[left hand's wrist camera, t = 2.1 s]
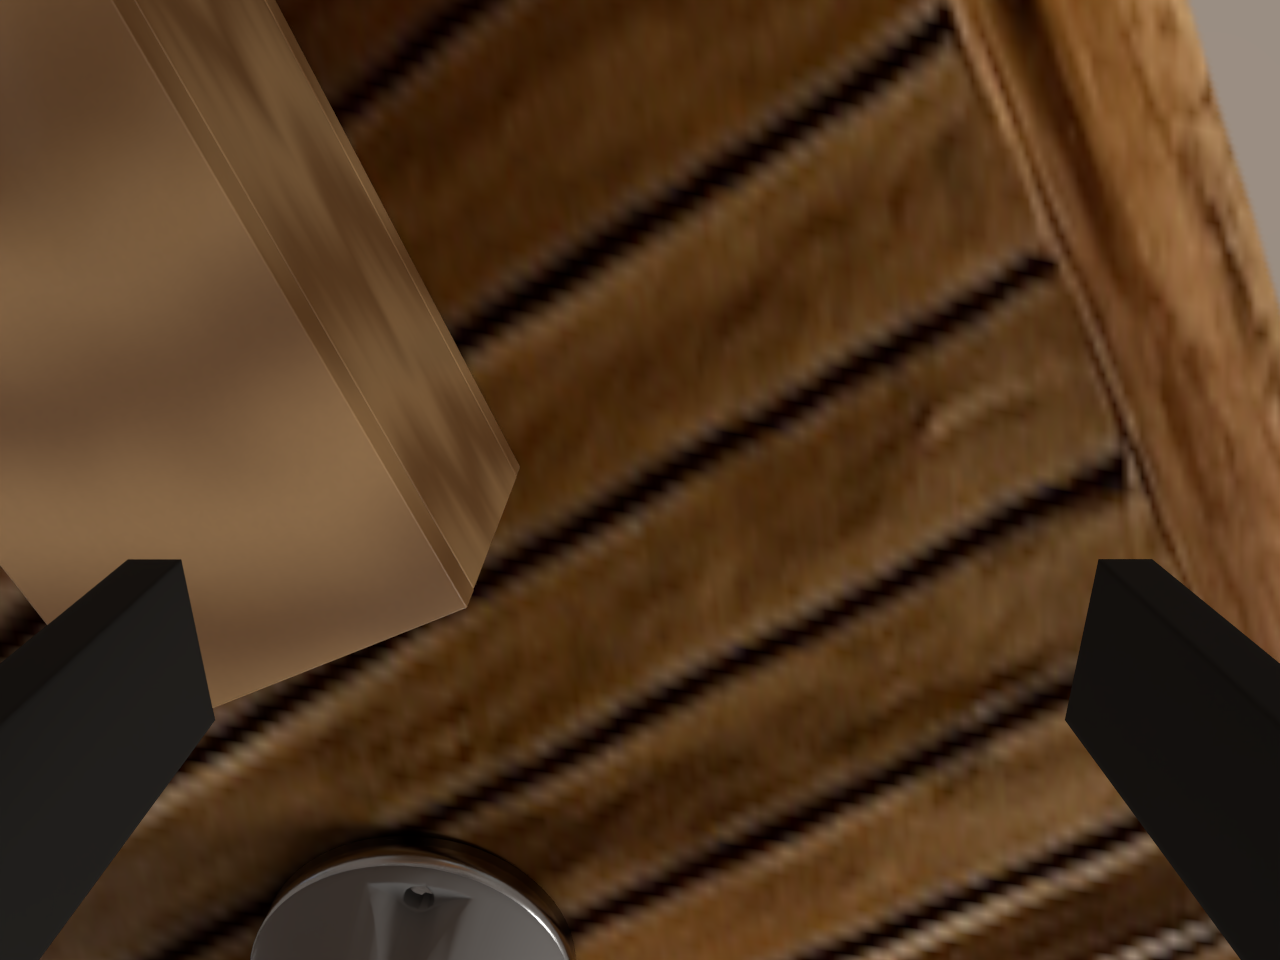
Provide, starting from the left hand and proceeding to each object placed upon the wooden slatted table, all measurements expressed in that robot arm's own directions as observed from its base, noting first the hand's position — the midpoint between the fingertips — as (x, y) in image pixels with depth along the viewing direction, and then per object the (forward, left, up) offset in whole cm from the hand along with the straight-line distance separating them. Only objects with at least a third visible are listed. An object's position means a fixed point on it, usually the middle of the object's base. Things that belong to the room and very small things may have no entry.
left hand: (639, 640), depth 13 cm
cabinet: (-10, +9, -21) cm, 25 cm away
